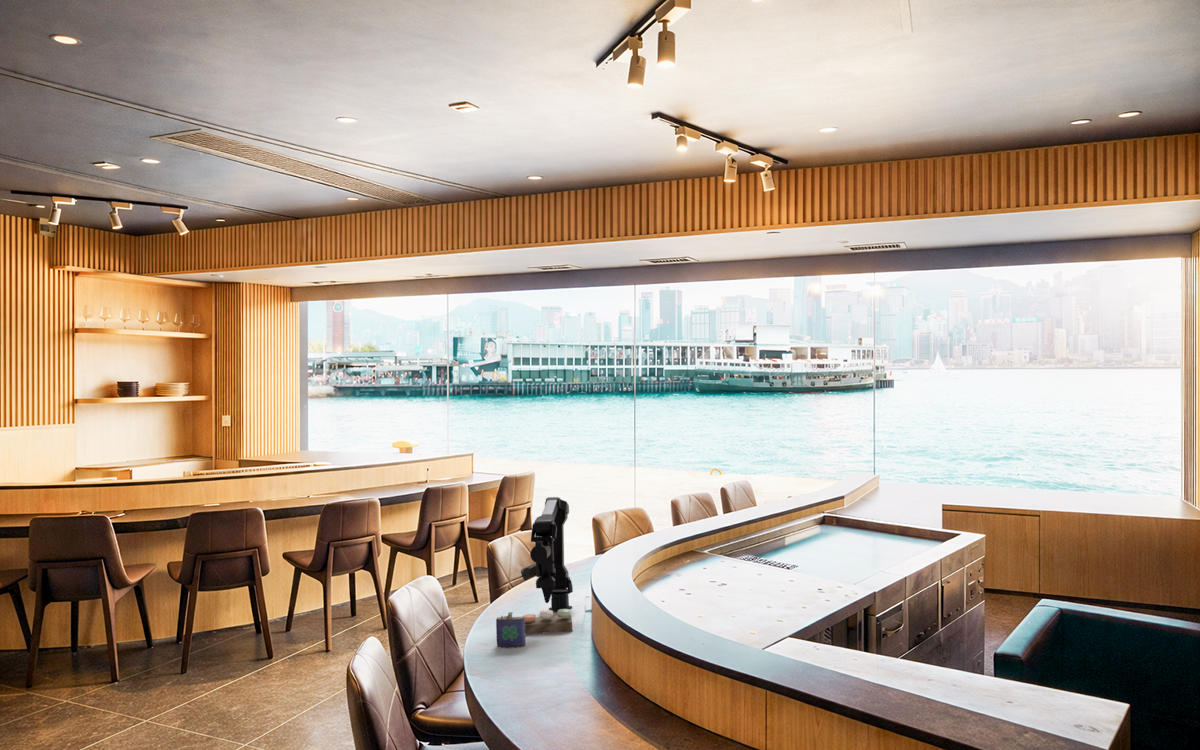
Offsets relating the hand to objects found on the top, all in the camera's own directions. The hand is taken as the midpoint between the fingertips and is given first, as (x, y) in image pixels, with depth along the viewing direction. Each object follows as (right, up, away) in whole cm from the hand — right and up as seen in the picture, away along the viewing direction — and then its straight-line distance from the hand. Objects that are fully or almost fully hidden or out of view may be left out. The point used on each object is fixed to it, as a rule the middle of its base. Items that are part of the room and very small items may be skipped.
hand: (547, 602), depth 245 cm
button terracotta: (-6, -6, -1) cm, 8 cm away
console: (0, -9, 0) cm, 9 cm away
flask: (-10, -9, -17) cm, 21 cm away
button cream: (0, -5, 0) cm, 5 cm away
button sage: (+6, -4, 0) cm, 7 cm away
